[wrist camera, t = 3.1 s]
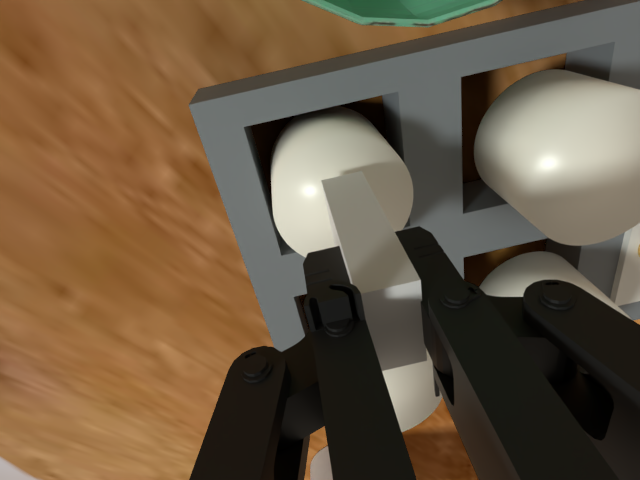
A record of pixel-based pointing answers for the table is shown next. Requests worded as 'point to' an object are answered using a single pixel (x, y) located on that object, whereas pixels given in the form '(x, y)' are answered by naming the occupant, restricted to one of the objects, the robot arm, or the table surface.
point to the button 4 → (565, 154)
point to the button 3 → (537, 276)
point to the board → (417, 144)
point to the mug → (402, 10)
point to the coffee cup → (321, 466)
